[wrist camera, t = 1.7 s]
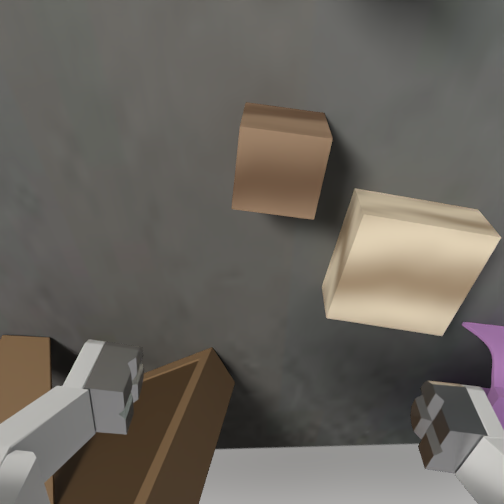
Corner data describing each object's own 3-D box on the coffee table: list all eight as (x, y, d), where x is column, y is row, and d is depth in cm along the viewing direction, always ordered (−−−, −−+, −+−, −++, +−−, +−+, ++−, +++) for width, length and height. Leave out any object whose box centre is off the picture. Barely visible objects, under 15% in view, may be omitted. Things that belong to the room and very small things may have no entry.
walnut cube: (245, 101, 26) (239, 126, 22) (324, 112, 26) (332, 138, 22) (237, 175, 29) (231, 208, 25) (308, 184, 29) (313, 219, 25)
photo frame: (235, 374, 41) (193, 791, 20) (74, 431, 48) (-82, 784, 27) (141, 265, 34) (-73, 731, 13) (-33, 350, 41) (-351, 743, 20)
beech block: (354, 186, 29) (363, 214, 26) (476, 207, 30) (501, 237, 26) (321, 284, 34) (326, 317, 31) (426, 301, 35) (442, 336, 32)
